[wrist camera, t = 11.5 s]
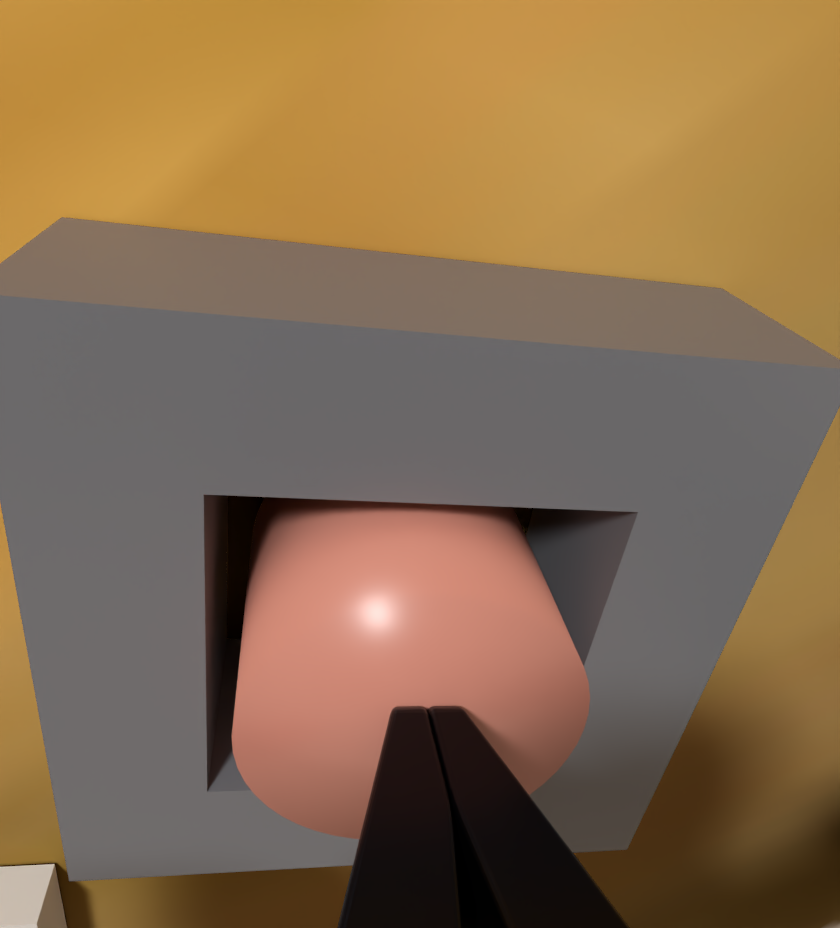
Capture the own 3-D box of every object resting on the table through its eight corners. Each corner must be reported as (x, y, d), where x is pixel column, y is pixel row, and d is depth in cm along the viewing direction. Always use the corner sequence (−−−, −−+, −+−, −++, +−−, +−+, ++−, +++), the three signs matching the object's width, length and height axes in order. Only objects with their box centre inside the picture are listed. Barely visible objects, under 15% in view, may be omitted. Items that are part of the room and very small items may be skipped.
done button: (539, 438, 11) (633, 597, 8) (487, 642, 13) (545, 832, 10) (254, 421, 10) (233, 591, 7) (249, 642, 12) (230, 847, 9)
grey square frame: (722, 288, 10) (857, 370, 8) (572, 710, 15) (627, 849, 12) (61, 217, 9) (-38, 291, 6) (114, 717, 13) (68, 881, 11)
